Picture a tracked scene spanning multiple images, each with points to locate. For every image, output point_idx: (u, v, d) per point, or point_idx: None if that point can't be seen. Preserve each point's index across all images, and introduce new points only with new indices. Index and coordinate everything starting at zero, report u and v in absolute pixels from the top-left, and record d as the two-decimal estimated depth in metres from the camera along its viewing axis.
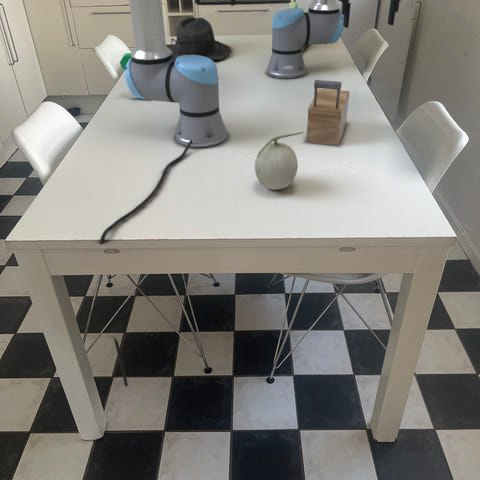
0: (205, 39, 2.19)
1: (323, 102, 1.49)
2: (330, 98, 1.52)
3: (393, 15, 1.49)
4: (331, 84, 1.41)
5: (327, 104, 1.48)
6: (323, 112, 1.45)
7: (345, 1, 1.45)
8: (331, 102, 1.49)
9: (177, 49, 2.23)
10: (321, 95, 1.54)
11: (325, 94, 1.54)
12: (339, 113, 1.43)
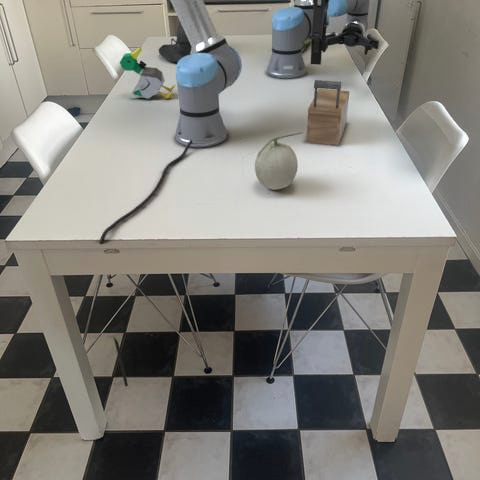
0: None
1: (323, 102, 1.49)
2: (330, 98, 1.52)
3: None
4: (331, 84, 1.41)
5: (327, 104, 1.48)
6: (323, 112, 1.45)
7: None
8: (331, 102, 1.49)
9: (177, 49, 2.23)
10: (321, 95, 1.54)
11: (325, 94, 1.54)
12: (339, 113, 1.43)
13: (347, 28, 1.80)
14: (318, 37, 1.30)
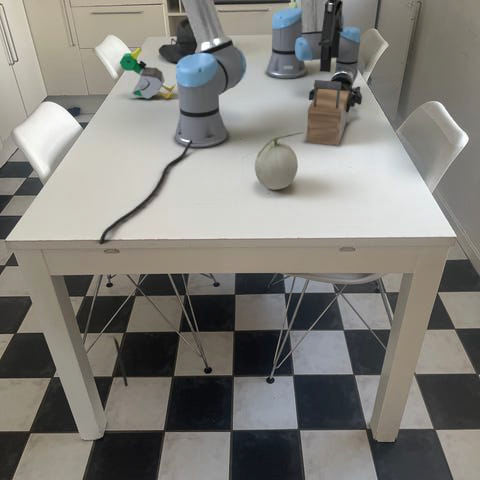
0: None
1: (323, 102, 1.49)
2: (330, 98, 1.52)
3: None
4: (331, 84, 1.41)
5: (327, 104, 1.48)
6: (323, 112, 1.45)
7: None
8: (331, 102, 1.49)
9: (177, 49, 2.23)
10: (321, 95, 1.54)
11: (325, 94, 1.54)
12: (339, 113, 1.43)
13: (335, 79, 1.70)
14: (327, 44, 1.27)
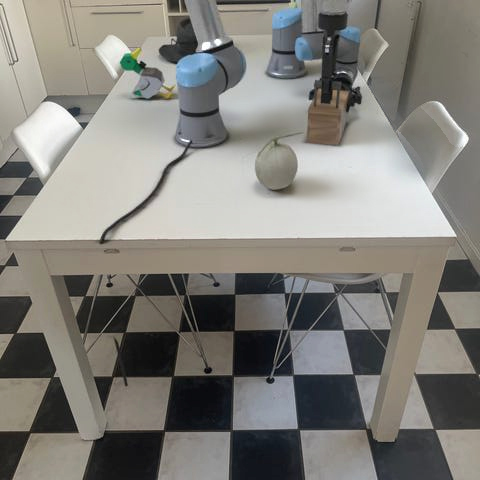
0: None
1: None
2: None
3: None
4: None
5: (327, 104, 1.48)
6: (323, 112, 1.45)
7: None
8: (331, 102, 1.49)
9: (177, 49, 2.23)
10: None
11: None
12: (339, 113, 1.43)
13: (335, 79, 1.70)
14: (327, 79, 1.37)
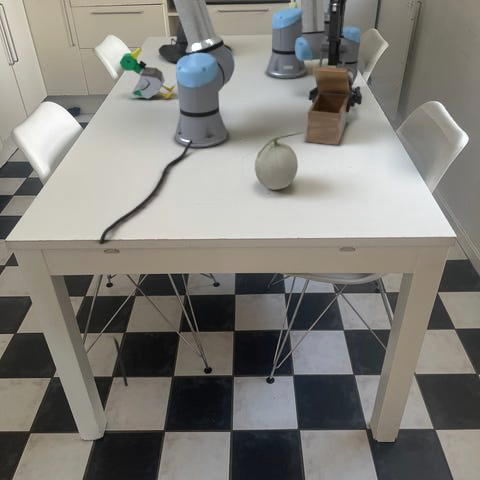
0: None
1: None
2: None
3: None
4: None
5: None
6: (328, 69, 1.41)
7: None
8: None
9: (177, 49, 2.23)
10: None
11: None
12: (345, 70, 1.40)
13: None
14: (334, 40, 1.38)
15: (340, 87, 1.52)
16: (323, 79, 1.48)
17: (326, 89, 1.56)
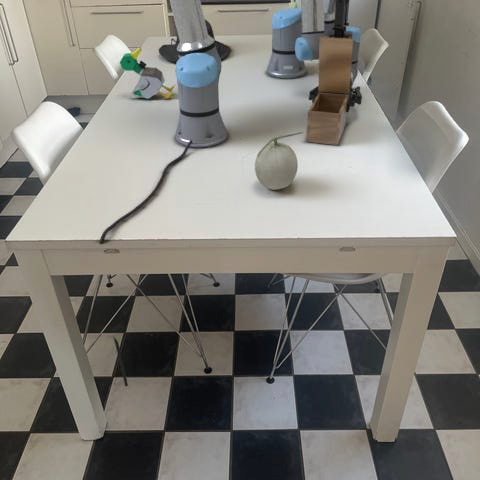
0: None
1: None
2: None
3: None
4: None
5: None
6: (335, 38, 1.45)
7: None
8: None
9: None
10: None
11: None
12: (351, 39, 1.44)
13: None
14: (340, 28, 1.45)
15: (342, 76, 1.53)
16: (327, 58, 1.50)
17: (327, 84, 1.56)
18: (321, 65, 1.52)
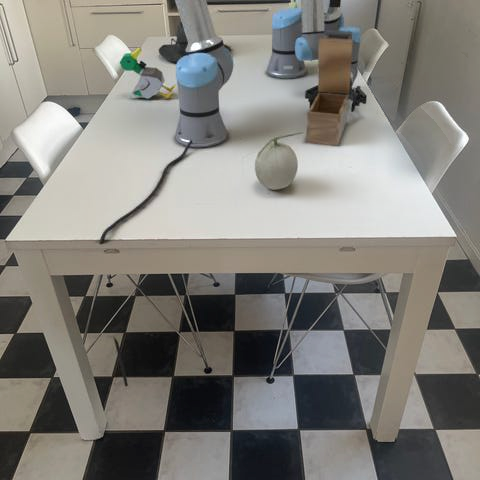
0: None
1: None
2: None
3: None
4: (343, 31, 1.49)
5: None
6: (334, 40, 1.44)
7: None
8: None
9: (177, 49, 2.23)
10: None
11: None
12: (351, 40, 1.43)
13: None
14: None
15: (341, 77, 1.52)
16: (327, 59, 1.49)
17: (326, 85, 1.56)
18: (321, 66, 1.51)
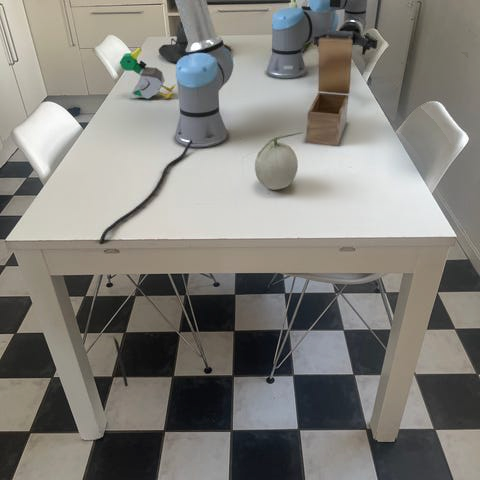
0: None
1: None
2: None
3: None
4: (343, 31, 1.49)
5: None
6: (334, 40, 1.44)
7: None
8: None
9: (177, 49, 2.23)
10: None
11: None
12: (351, 40, 1.43)
13: (344, 27, 1.72)
14: None
15: (341, 77, 1.52)
16: (327, 59, 1.49)
17: (326, 85, 1.56)
18: (321, 66, 1.51)
